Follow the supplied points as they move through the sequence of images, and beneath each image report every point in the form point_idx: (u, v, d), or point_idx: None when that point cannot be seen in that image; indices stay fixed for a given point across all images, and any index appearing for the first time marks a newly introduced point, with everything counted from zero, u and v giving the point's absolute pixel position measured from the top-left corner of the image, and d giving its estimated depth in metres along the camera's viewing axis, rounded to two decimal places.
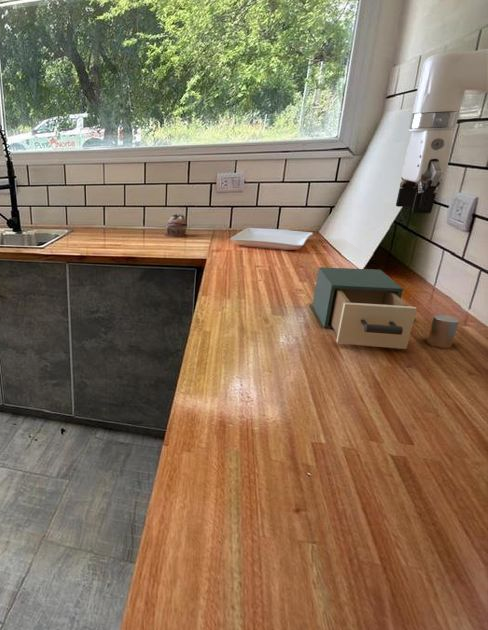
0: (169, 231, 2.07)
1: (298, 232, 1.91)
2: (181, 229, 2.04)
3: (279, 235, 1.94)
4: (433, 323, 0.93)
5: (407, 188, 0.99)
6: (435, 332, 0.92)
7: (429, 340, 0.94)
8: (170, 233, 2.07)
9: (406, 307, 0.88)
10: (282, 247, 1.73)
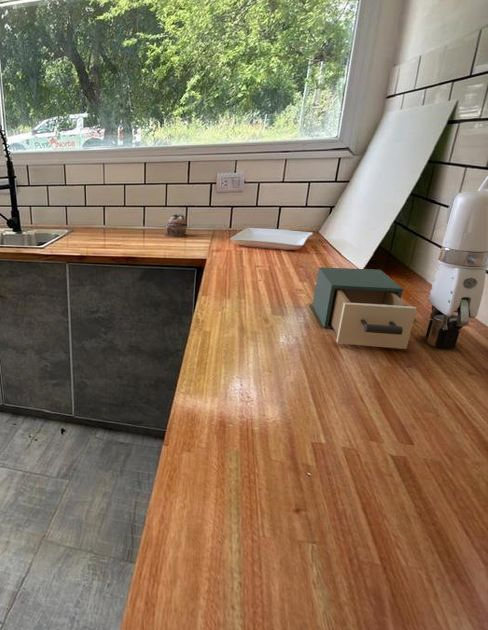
0: (169, 231, 2.07)
1: (298, 232, 1.91)
2: (181, 229, 2.04)
3: (279, 235, 1.94)
4: (433, 323, 0.93)
5: None
6: (435, 332, 0.92)
7: (429, 340, 0.94)
8: (170, 233, 2.07)
9: (406, 307, 0.88)
10: (282, 247, 1.73)
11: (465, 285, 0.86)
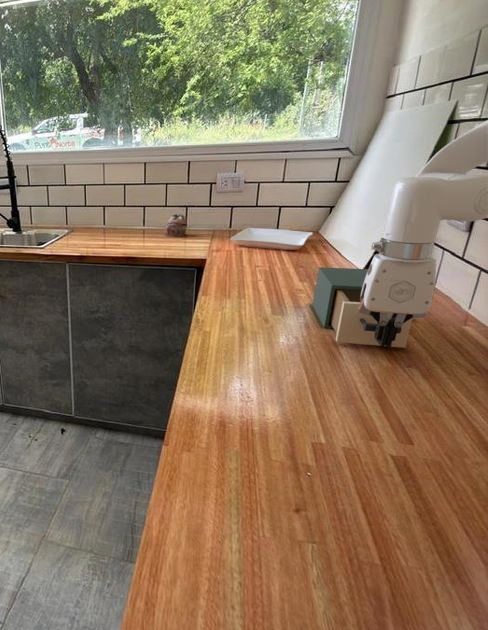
0: (169, 231, 2.07)
1: (298, 232, 1.91)
2: (181, 229, 2.04)
3: (279, 235, 1.94)
4: None
5: (389, 323, 0.85)
6: None
7: None
8: (170, 233, 2.07)
9: None
10: (282, 247, 1.73)
11: None
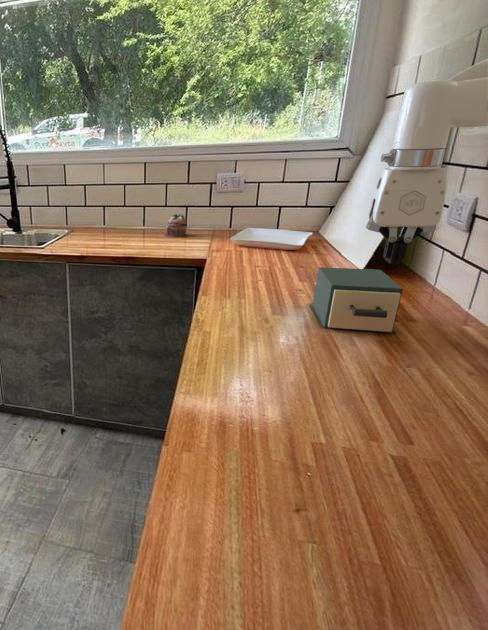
0: (169, 231, 2.07)
1: (298, 232, 1.91)
2: (181, 229, 2.04)
3: (279, 235, 1.94)
4: None
5: (398, 240, 0.84)
6: None
7: None
8: (170, 233, 2.07)
9: (391, 293, 0.96)
10: (282, 247, 1.73)
11: None
